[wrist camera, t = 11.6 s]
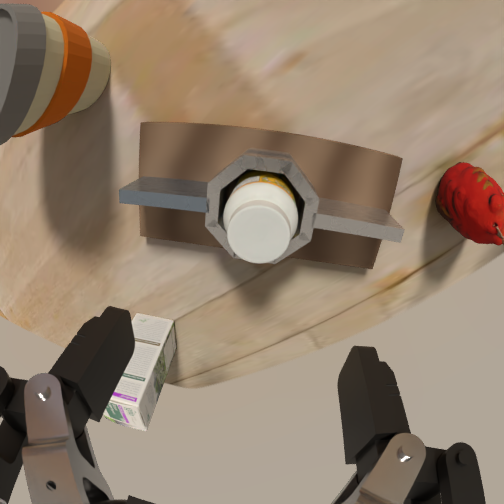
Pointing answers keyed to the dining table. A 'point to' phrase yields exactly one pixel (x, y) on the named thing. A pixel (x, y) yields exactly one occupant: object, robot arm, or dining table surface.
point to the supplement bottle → (260, 216)
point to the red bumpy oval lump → (472, 204)
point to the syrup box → (143, 372)
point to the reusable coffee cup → (45, 69)
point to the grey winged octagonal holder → (309, 204)
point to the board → (307, 157)
